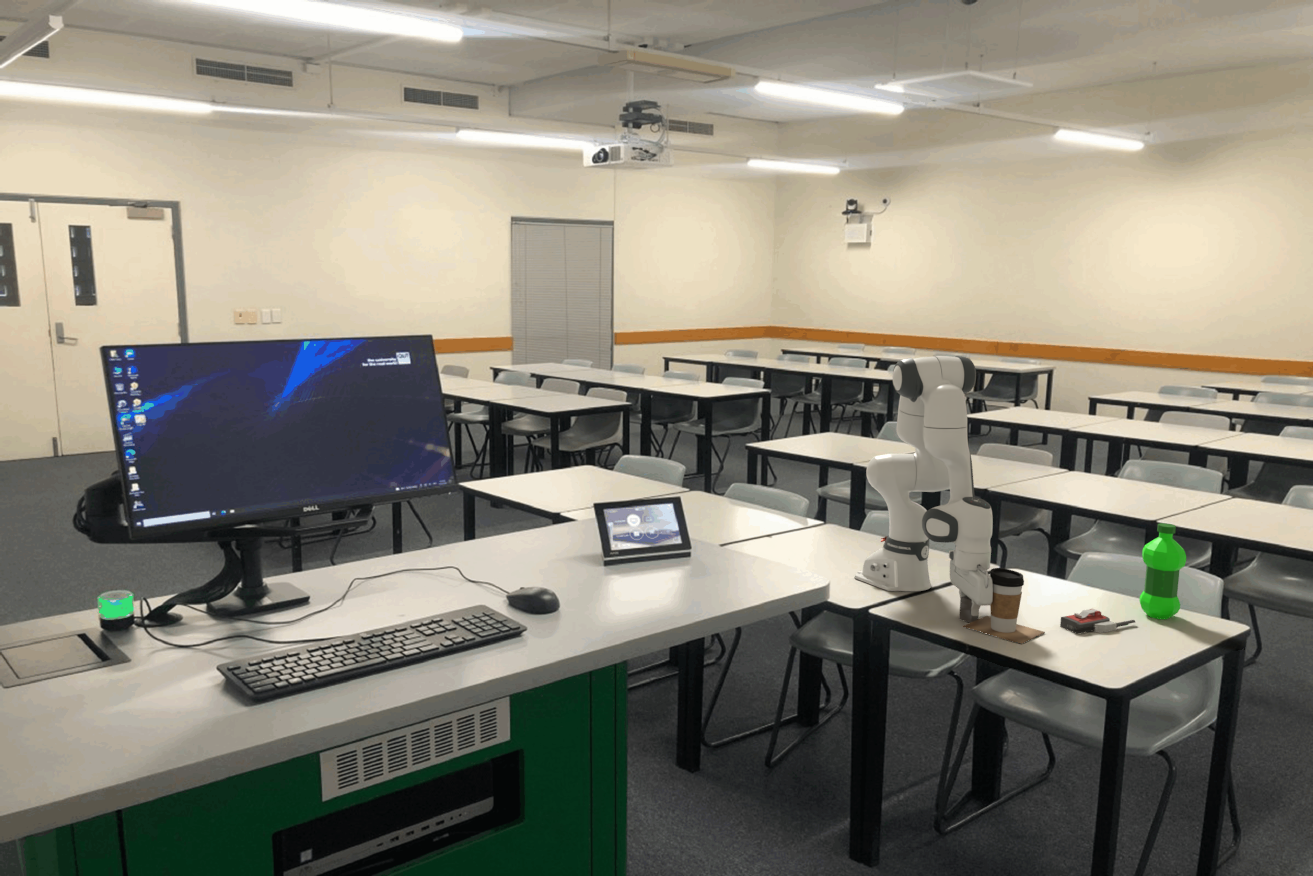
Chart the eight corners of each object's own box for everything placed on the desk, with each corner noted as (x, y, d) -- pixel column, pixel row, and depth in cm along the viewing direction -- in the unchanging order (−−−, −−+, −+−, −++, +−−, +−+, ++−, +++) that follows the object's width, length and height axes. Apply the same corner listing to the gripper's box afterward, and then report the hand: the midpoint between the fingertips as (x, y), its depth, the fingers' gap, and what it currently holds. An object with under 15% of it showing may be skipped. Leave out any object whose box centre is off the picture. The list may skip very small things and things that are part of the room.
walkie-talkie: (1082, 638, 241) (1137, 627, 249) (1083, 622, 240) (1139, 611, 248) (1054, 627, 249) (1109, 617, 257) (1055, 611, 248) (1110, 601, 256)
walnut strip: (950, 623, 250) (951, 600, 249) (974, 613, 258) (975, 591, 257) (1021, 644, 235) (1023, 620, 234) (1044, 633, 243) (1046, 609, 242)
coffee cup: (995, 620, 251) (998, 565, 249) (1026, 629, 245) (1030, 572, 243) (979, 628, 245) (983, 571, 243) (1011, 637, 239) (1015, 579, 237)
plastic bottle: (1141, 607, 264) (1149, 518, 260) (1184, 615, 258) (1193, 525, 254) (1132, 616, 257) (1140, 525, 253) (1175, 625, 250) (1184, 532, 246)
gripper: (1001, 571, 240) (997, 624, 242) (969, 549, 260) (966, 598, 262) (976, 571, 239) (972, 625, 242) (946, 549, 260) (943, 598, 262)
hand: (969, 611), depth 252 cm, fingers closed on walnut strip, 5 cm apart
